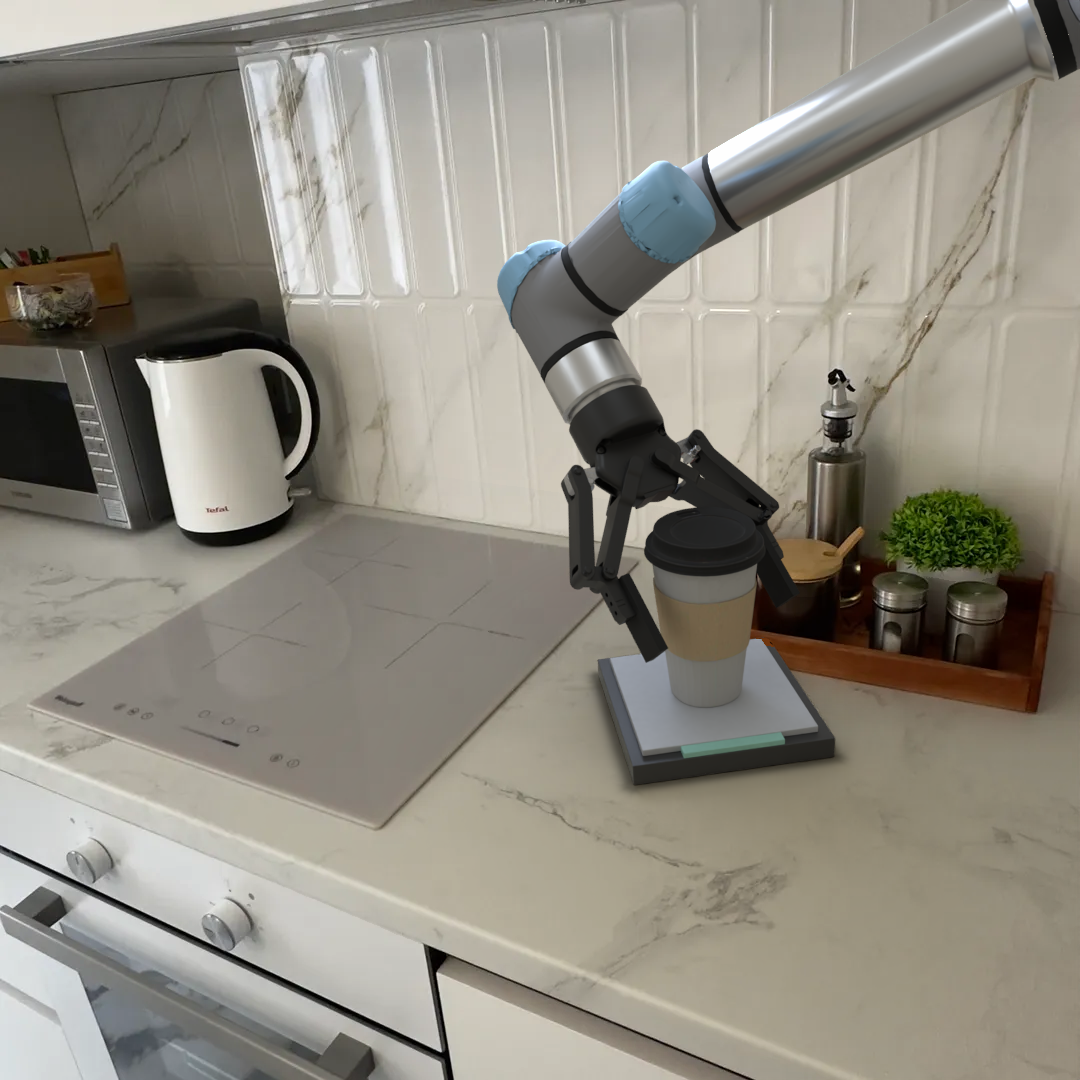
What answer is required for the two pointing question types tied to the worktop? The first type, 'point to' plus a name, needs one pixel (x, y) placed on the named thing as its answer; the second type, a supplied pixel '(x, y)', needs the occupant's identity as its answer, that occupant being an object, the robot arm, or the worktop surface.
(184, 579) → the worktop surface
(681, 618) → the coffee cup
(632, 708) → the kitchen scale
